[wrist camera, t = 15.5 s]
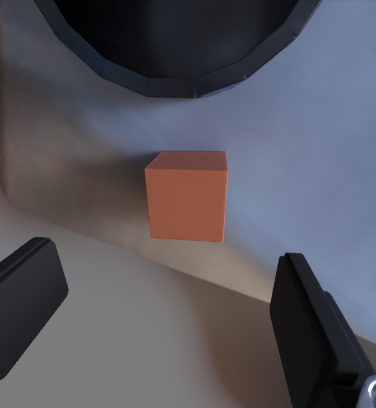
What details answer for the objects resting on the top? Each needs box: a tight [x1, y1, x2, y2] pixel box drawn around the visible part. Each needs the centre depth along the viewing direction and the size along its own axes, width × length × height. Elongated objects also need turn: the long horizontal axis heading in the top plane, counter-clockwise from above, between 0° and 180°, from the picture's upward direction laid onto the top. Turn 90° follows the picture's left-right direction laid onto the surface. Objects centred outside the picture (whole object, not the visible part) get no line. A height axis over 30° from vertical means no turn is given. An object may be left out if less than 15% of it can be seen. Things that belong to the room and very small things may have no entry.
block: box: [144, 151, 228, 242], centre depth 17 cm, size 5×5×5 cm
